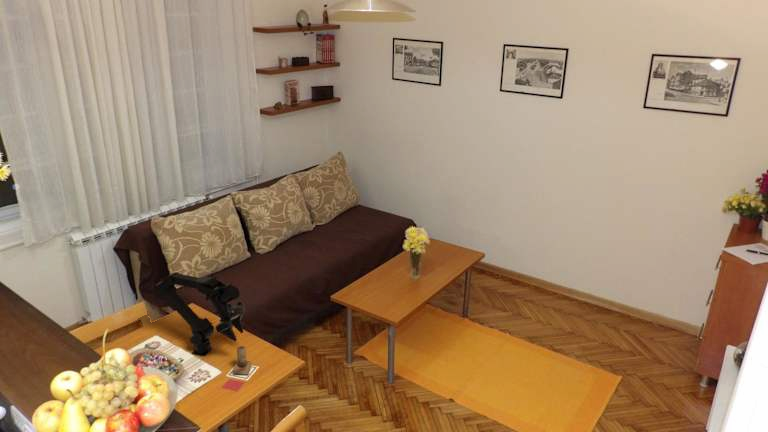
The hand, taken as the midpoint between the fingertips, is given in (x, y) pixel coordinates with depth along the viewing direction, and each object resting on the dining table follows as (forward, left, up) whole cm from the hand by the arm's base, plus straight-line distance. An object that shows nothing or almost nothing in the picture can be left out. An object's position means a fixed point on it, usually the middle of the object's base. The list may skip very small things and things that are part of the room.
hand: (239, 336), depth 240 cm
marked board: (+5, -8, -12) cm, 15 cm away
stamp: (+5, -8, -11) cm, 15 cm away
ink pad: (+6, -17, -12) cm, 22 cm away
